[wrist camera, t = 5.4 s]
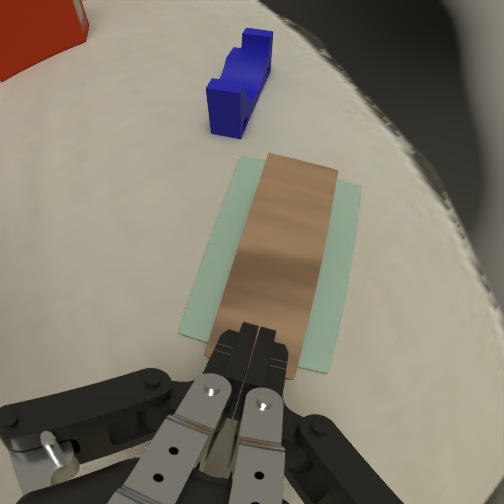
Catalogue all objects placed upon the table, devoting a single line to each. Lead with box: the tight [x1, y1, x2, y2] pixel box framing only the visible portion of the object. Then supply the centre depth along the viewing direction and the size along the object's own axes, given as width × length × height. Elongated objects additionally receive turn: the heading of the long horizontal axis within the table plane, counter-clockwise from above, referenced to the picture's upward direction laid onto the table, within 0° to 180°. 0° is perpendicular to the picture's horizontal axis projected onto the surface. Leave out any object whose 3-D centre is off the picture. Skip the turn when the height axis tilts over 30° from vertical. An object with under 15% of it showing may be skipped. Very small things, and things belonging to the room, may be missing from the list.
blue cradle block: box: [206, 28, 273, 139], centre depth 29 cm, size 12×4×6 cm, turn 164°
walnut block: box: [204, 153, 338, 380], centre depth 21 cm, size 5×5×14 cm
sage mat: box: [178, 156, 361, 374], centre depth 25 cm, size 16×11×1 cm
